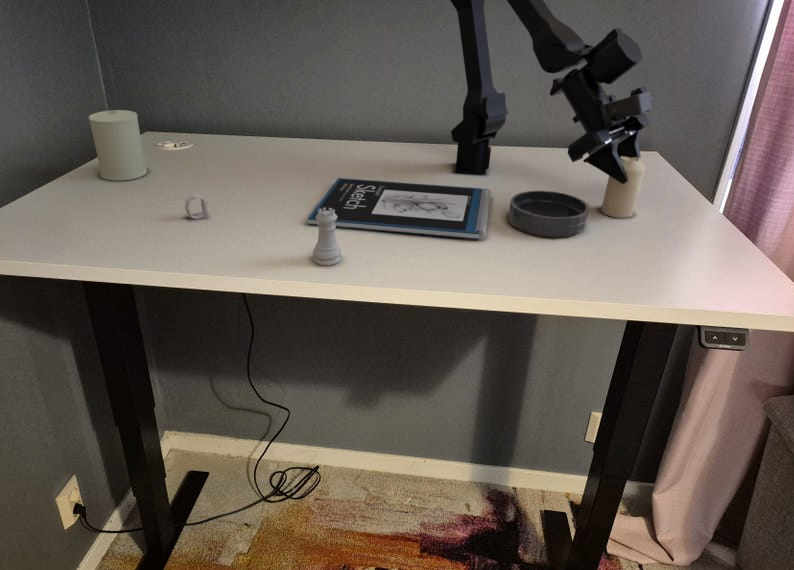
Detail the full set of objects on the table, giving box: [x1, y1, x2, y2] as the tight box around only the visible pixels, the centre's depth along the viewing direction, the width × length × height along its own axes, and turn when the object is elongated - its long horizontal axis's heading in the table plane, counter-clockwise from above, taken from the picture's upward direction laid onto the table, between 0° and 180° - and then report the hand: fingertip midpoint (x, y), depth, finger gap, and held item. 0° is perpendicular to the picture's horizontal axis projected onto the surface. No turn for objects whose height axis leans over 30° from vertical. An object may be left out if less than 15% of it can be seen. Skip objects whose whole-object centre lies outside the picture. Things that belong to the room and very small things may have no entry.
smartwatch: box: [184, 194, 209, 220], centre depth 111 cm, size 4×2×4 cm, turn 118°
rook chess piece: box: [312, 208, 342, 267], centre depth 96 cm, size 4×4×8 cm
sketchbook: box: [307, 177, 492, 241], centre depth 115 cm, size 22×30×2 cm
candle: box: [601, 156, 646, 219], centre depth 112 cm, size 6×6×10 cm
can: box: [88, 109, 148, 182], centre depth 128 cm, size 9×9×12 cm
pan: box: [507, 190, 590, 238], centre depth 110 cm, size 13×13×4 cm
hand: (633, 178), depth 111 cm, fingers closed on candle, 5 cm apart
